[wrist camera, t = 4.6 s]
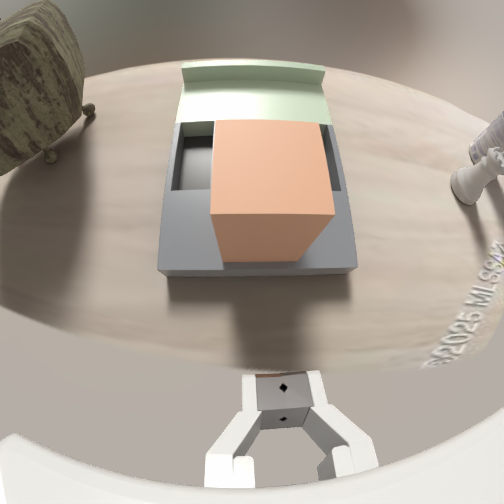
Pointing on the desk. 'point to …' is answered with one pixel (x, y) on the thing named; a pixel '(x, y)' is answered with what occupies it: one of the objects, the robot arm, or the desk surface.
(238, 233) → the block
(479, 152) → the energy drink
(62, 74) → the tabletop clock
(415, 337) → the desk surface
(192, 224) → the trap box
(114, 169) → the desk surface
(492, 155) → the rook chess piece
